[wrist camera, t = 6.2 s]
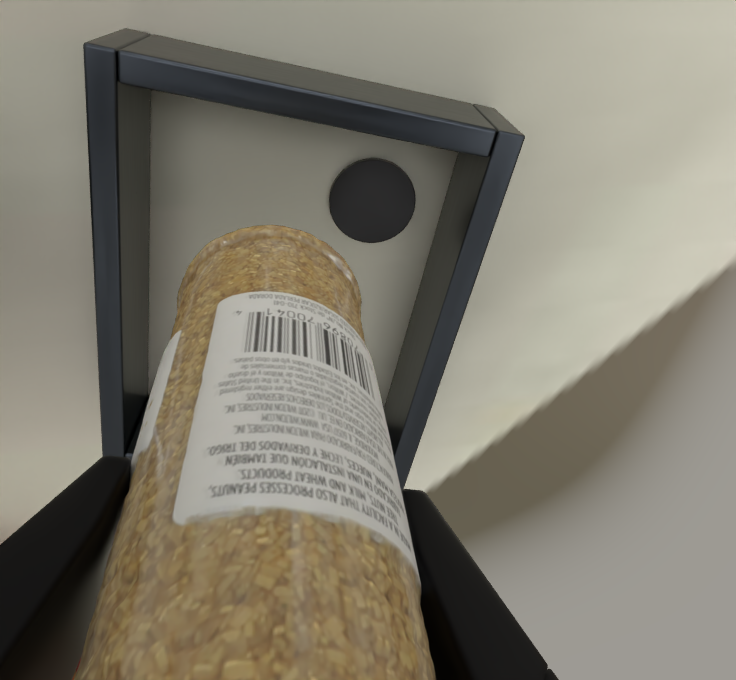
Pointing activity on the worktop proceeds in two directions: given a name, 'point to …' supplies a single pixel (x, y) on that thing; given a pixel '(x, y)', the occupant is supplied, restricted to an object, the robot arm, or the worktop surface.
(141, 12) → the worktop surface
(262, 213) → the worktop surface
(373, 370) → the sprinkles bottle
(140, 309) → the rectangular frame
